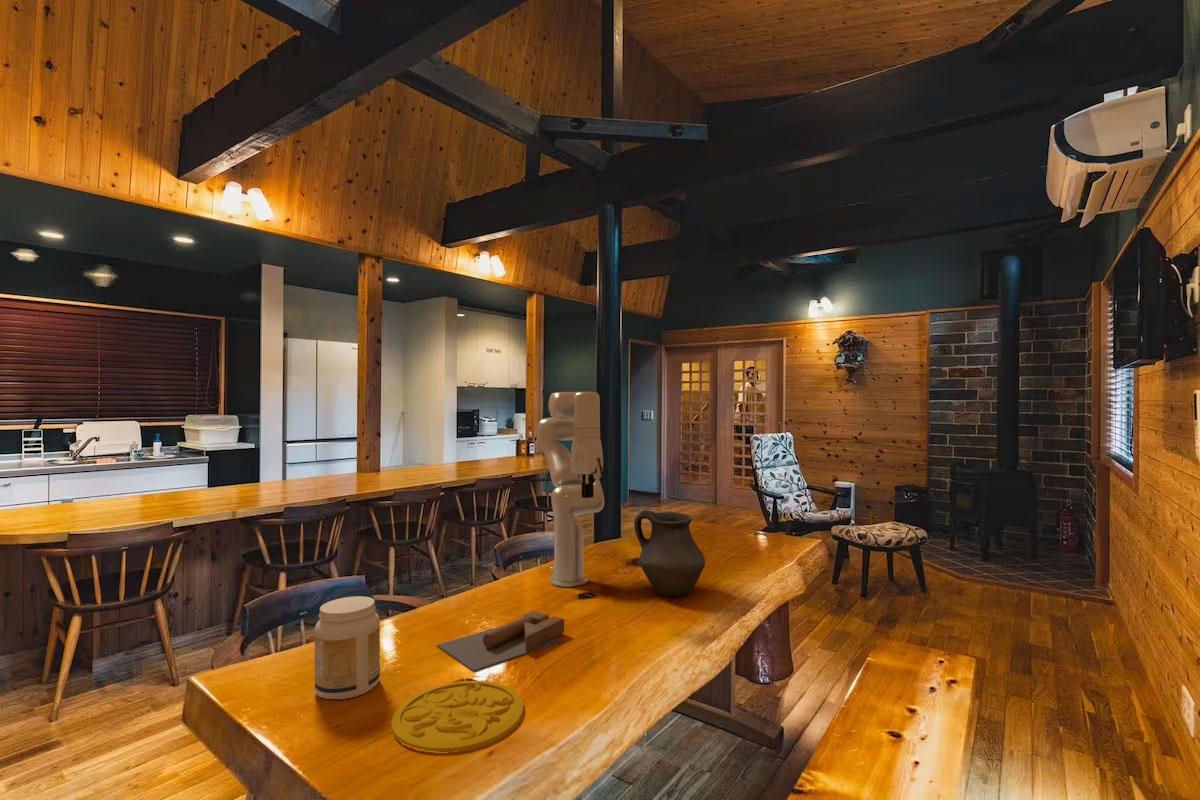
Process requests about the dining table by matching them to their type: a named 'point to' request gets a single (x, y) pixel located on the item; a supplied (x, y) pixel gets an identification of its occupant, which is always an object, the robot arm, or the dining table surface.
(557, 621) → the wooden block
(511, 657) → the mat
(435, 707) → the decorative medallion
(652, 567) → the pitcher
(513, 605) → the dining table surface
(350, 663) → the supplement tub
